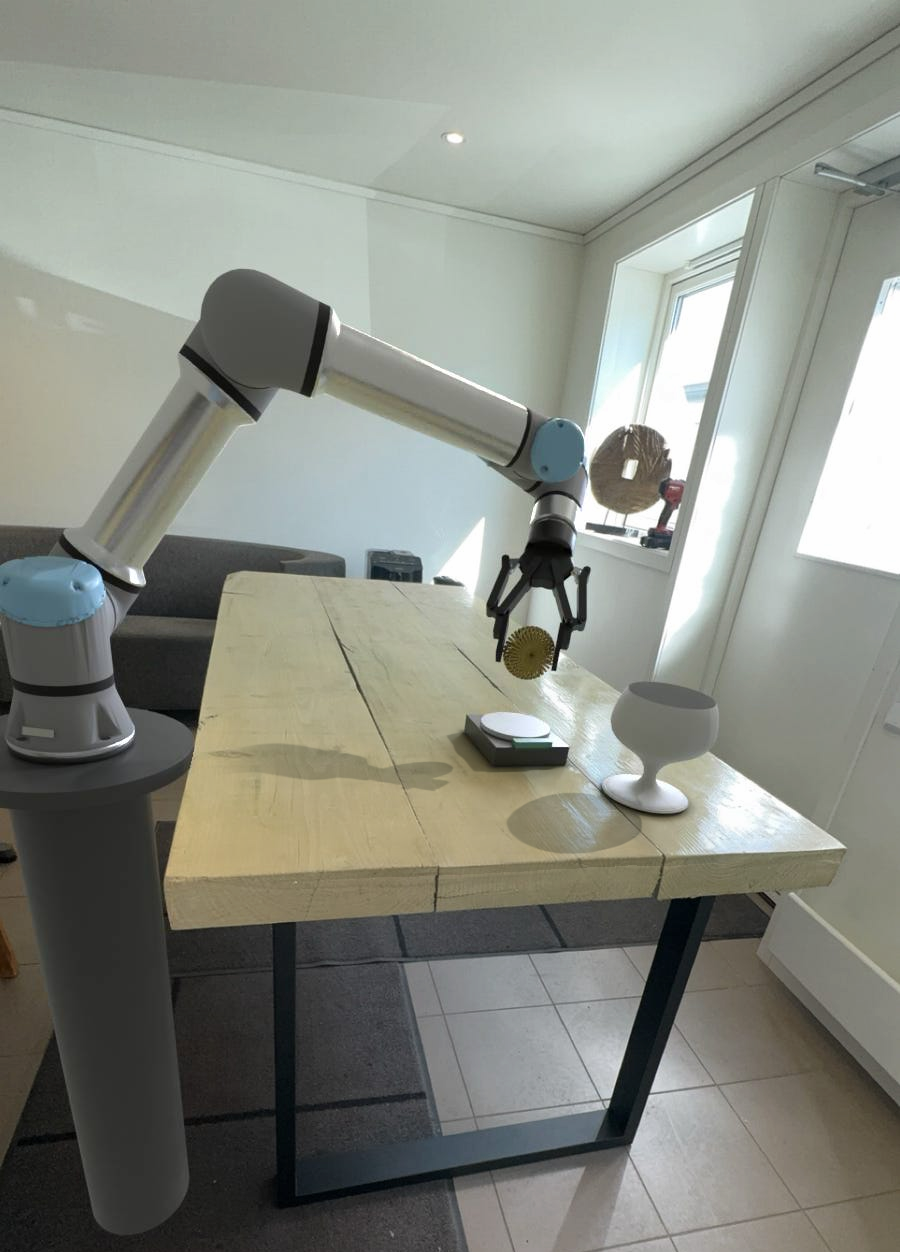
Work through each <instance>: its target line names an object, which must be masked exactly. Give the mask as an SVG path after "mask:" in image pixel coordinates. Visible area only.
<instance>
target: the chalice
mask: <svg viewBox="0 0 900 1252" xmlns="http://www.w3.org/2000/svg"><path fill="white" fill-rule="evenodd" d="M719 712H720V711H719V707H718V704H717V702H716V700H715V699H713V698H712V697H711V696H709V695H707V694H705V693H704V692H701V691H698V690H695V689H692V688H689V687H687V686H681V685H677V684H672V683H667V682H660V681H659V682H658V681H635V682H632V683H630V684H628V685H627V686H626V687H625V688H624V690H623V691H622V692H621V693H620V695H619V697H618V699H617V700H616V703H615V705H614V707H613V710H612V711H611V714H610V715H611V716H610V727H611V731H612V733H613V735H614V737H615V738H616V739H617V740H618V742H619V743H621V744H622V745H623V746H624V747H625V748H627V749H628V750H629V751H631V752H632V753H633V754H634V755H636V757H638V758H639V760H640V761H641V764H642V766H643V773H642V775H641V774H633V773H632V774H631V773H622V774H621V773H620V774H615V775H611V776H609V777H606V778H605V779H604V780H603V781H602V782H601V788H602V790H603V792H604V793H605V794H606V795H607V796H608V797H610V798H611V799H612V800H614V801H616V802H617V803H619V804H622V805H624V806H626V807H629V808H631V809H634V810H639V811H643V812H647V813H653V814H676V813H681V812H682V811H685V810H686V809H687V808H688V807H689V800H688V798H687V796H686V795H685V794H684V793H683V792H682V791H681V790H680V789H678V788H677V787H675V786H674V785H672V784H670V783H668V782H666V781H662V780H660V779H657V775H658V773H659V772H660V770H661V769H662V768H664V767H666V766H668V765H671V764H675V763H680V762H686V761H690V760H694V759H697V758H700V757H703V756H704V755H705V754H707V753H708V752H709V751H711V750H712V748H713V747H714V745H715V744H716V741H717V739H718V734H719V726H720V725H719V724H720V715H719Z"/></svg>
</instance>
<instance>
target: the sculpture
mask: <svg viewBox="0 0 900 1252" xmlns="http://www.w3.org/2000/svg"><path fill="white" fill-rule="evenodd" d="M510 636H511V637H507V640H505V644H504V649H503V654H502V661H503V663H504V666H505V668H506V670H507V671H508V673H509V674H511V676H513V677H515V678H517V679H520V680H524V681H528V680H529V681H530V680H535V679H538V678H540V677H541V676H543V675H545V673H547V672H548V670H551V667H552V662H553V657H554V652H555V646H556V644H555V641H554V638H553V637H552V636H551V634H550V633H549V632H548V631H547V630H545V629H544V628H542V627H539V626H536V625H526V626H523V627H521V628H520V627H519V628H518V629H517V630H514V631H513V633H511V634H510ZM547 669H548V670H547Z"/></svg>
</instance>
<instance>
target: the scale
mask: <svg viewBox="0 0 900 1252" xmlns="http://www.w3.org/2000/svg"><path fill="white" fill-rule="evenodd" d="M465 716H466V717H465V723H464V730H463V732H464V733H465V734H466V735H467V737H468V738H469V739H470V740H471V741H472V742H473V744H474V745H475V746H476V747H477V748H478V749H479V751H480V752H481V753H482V754H483V756H484V757H485V758H486V759H487V760H488V762H489V763H490V764H491V765H492V766H493V767H516V766H519V767H520V766H525V767H526V766H563V765H565V766H566V765H567V762H568V756H569V752H570V746H569V744H567V743H565V741H564V740H562V739H561V737H559V736H558V735H557V734H556V733H554V731H552V730H551V727H550V725H549V724H548V723H547V722H545V721H543V720H541V719H540V718H538V717H536V716H535V715H534V714H525V713H524V714H523V713H518V712H510V711H509V712H508V711H498V712H496V711H495V712H490V713H485V714H480V713H479V714H476V713H475V714H473V713H471V714H468V713H467V714H466V715H465Z"/></svg>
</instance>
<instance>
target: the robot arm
mask: <svg viewBox="0 0 900 1252" xmlns="http://www.w3.org/2000/svg"><path fill="white" fill-rule="evenodd" d="M176 357H177V362H178V366H179V378H178V379H177V380H176V382H175V384H174V385H173V387H172V389H171V390H170V391H169V392H168V395H167V396H166V397H165V399H164V401H163V402H162V404H161V405H160V407H159V409H158V410H157V412H156V413H155V415H154V416H153V418H152V419H151V421H150V423H149V424H148V426H147V427H146V429H145V430H144V432H143V433H142V435H141V436H140V438H139V439H138V441H137V443H136V444H135V445H134V447H133V448H132V450H131V452H130V453H129V455H128V456H127V458H126V460H125V461H124V462H123V464H122V466H120V468H119V469H118V472H117V473H116V475H115V476H114V478H113V479H112V481H111V482H110V484H109V485H108V487H107V489H106V490H105V491H104V493H103V494H102V496H101V498H100V499H99V501H98V502H97V504H96V506H95V507H94V509H93V510H92V511H91V513H90V515H89V517H88V518H87V520H86V521H85V522H84V524H83V525H82V526H78V527H69V528H68V527H67V528H65V529H64V530H63V532H62V533H61V535H60V536H59V537H58V540H57V541H56V542H55V543H54V545H53V547H52V549H51V550H50V552H49V554H47V555H37V556H36V555H35V556H26V557H23V558H15V559H10V560H8V561H6V562H4V563H2V564H0V628H1V632H2V633H1V634H2V638H3V639H2V640H3V643H4V649H5V653H6V659H7V664H8V669H9V675H10V679H11V685H12V700H11V703H10V709H9V713H8V714H9V718H8V723H7V728H6V734H5V738H6V743H7V748H8V751H9V753H10V754H11V755H12V756H14V757H15V758H17V759H20V760H22V761H26V762H30V763H35V764H41V765H57V766H64V765H80V764H88V763H94V762H99V761H103V760H107V759H110V758H113V757H116V756H118V755H121V754H123V753H125V752H126V751H128V750H129V749H131V748H132V747H133V745H134V744H135V741H136V738H135V728H134V725H133V723H132V721H131V719H130V717H129V715H128V713H127V711H126V709H125V707H126V706H125V705H124V703H123V701H122V699H121V696H120V695H119V692H118V690H117V687H116V682H115V675H114V674H115V673H114V665H113V658H112V656H113V655H112V649H111V636H113V633H114V632H115V630H116V629H117V628H118V627H119V626H120V625H121V623H122V622H123V621H124V619H125V617H126V615H127V612H129V609H130V608H131V607H132V605H133V604H134V602H135V601H136V600H137V598H138V597H139V595H140V593H141V592H142V590H143V589H144V588H145V586H146V584H147V581H146V578H145V573H144V568H143V567H144V566H145V564H147V562H148V560H149V559H150V557H151V556H152V554H153V553H154V551H155V550H156V549H157V547H158V545H159V544H160V543H161V541H162V539H163V538H164V537H165V535H166V533H167V532H168V531H169V529H170V528H171V527H172V525H173V524H174V522H175V521H176V519H177V517H178V516H179V514H180V513H181V512H182V510H184V509H183V508H184V507H185V506H186V505H187V503H188V501H189V500H190V498H191V497H192V495H193V494H194V492H195V491H196V490H197V488H198V487H199V485H200V484H201V482H202V481H203V479H205V476H206V475H207V473H208V472H209V471H210V469H211V468H212V467H213V464H215V461H216V460H217V459H218V457H219V456H220V454H221V453H222V451H223V450H224V449H225V447H226V446H227V444H228V443H229V441H230V440H231V438H232V437H233V435H234V434H235V432H236V431H237V429H238V428H240V427H242V426H254V425H256V424H257V422H258V421H259V420H260V419H261V416H262V415H263V414H264V412H265V411H266V410H267V408H268V406H269V405H270V404H271V402H272V401H273V400H274V398H275V396H276V395H277V394H278V392H279V390H280V389H281V390H286V391H290V392H292V393H293V392H294V393H296V394H299V395H301V396H304V397H306V398H309V399H310V400H311V399H312V400H313V399H315V398H316V397H318V396H320V395H326V396H329V397H331V398H333V399H335V400H337V401H340V402H343V403H346V404H348V405H351V406H353V407H355V408H358V409H361V410H364V411H365V412H368V413H371V414H373V415H376V416H377V417H381V418H383V419H385V420H387V421H390V422H393V423H395V424H398V425H400V426H402V427H406V428H408V429H411V430H413V431H416V432H418V433H420V434H423V435H425V436H427V437H430V438H433V439H435V440H437V441H440V442H442V443H445V444H447V445H450V446H453V447H455V448H458V449H460V450H462V451H465V452H467V453H470V454H472V455H475V456H476V457H477V458H479V459H480V460H481V461H482V462H484V463H485V464H486V466H487V467H488V468H492V469H493V470H494V471H496V472H497V473H498V474H500V475H502V476H503V477H504V478H505V479H507V480H508V481H510V482H512V483H513V484H515V485H516V486H517V487H519V488H520V489H522V490H523V491H524V492H525V493H526V494H528V495H529V496H531V497H532V498H534V504H533V507H532V508H533V509H532V513H531V517H530V522H529V526H528V527H529V528H528V531H527V536H526V540H525V545H524V548H523V549H524V550H523V553H521V555H519V557H518V558H517V557H515V558H514V557H513V558H511V557H510V555H509V554H503V555H502V556H501V563H500V565H501V567H500V569H499V572H498V575H497V576H496V580H495V581H494V584H493V587H492V588H491V592H490V594H489V596H488V598H487V601H486V604H485V616H486V617H487V618H493V619H494V624H493V628H492V638H493V640H498V641H497V643H496V649H495V663H501V662H502V659H503V649H505V648H504V645H506V641H507V635H508V631H509V625H510V615H511V614H512V612H513V611H514V610H515V608H516V607H517V606H518V604H520V602H521V600H522V599H523V597H524V596H526V594H527V593H529V591H531V589H532V588H535V589H540V588H542V589H545V590H550V591H552V596H553V597H554V599H555V604H556V607H557V611H558V614H559V618H560V622H559V626H558V631H557V638H556V642H555V652H554V657H553V662H551V663H552V666H551V667H550V670H551V672H557V669H558V665H559V664H558V663H559V659H560V654H561V650H563V651H568V650H569V648H570V644H571V638H572V633H573V632H574V631H575V632H576V631H578V632H583V631H584V630H585V628H586V625H587V620H588V583H589V581H590V577H591V571H592V569H591V567H590V566H588V565H585V566H583V567H582V568H581V567H578V566H575V563H574V561H573V558H574V553H575V548H576V543H577V537H578V532H579V531H578V530H579V527H580V521H581V516H582V515H581V514H582V510H583V505H584V500H585V495H586V490H587V488H588V484H589V472H590V461H589V457H588V455H587V453H586V450H587V449H586V447H587V446H586V445H587V444H586V439H585V436H584V433H583V431H582V429H581V428H580V427H579V425H577V423H575V422H574V421H573V420H570V419H566V418H563V417H561V416H558V417H556V416H555V417H550V416H547V415H545V414H543V413H541V412H538V411H536V410H533V409H532V408H529V407H526V406H524V405H523V404H521V403H519V402H517V401H514V400H512V399H510V398H509V397H506V396H503V395H502V394H498V393H496V392H494V391H493V390H491V389H488V388H486V387H484V386H481V385H479V384H477V383H475V382H473V381H470V380H468V379H466V378H464V377H462V376H460V375H457V374H455V373H453V372H450V371H449V370H446V369H444V368H442V367H439V366H437V365H435V364H433V363H431V362H429V361H427V360H424V359H422V358H420V357H419V356H416V355H413V354H411V353H408V352H407V351H404V350H403V349H400V348H398V347H396V346H394V345H392V344H389V343H387V342H385V341H382V340H381V339H378V338H376V337H374V336H371V335H369V334H367V333H365V332H363V331H361V330H358V329H357V328H354V327H352V326H350V325H348V324H345V323H343V322H341V321H340V319H339V318H338V316H337V314H336V312H335V310H334V307H332V306H331V305H329V304H326V303H324V302H322V301H319V300H317V299H315V298H313V297H311V296H310V295H308V294H306V293H304V292H302V291H300V290H298V289H296V288H295V287H292V286H291V285H288V284H287V283H284V281H281V280H279V279H277V278H275V277H273V276H271V275H269V274H268V273H265V272H262V271H259V270H257V269H251V268H235V269H231V270H228V271H226V272H224V273H222V274H220V275H219V276H217V277H216V279H214V280H213V281H212V282H211V283H210V284H209V286H208V288H207V290H206V292H205V294H204V297H203V299H202V302H201V307H200V317H199V320H198V321H197V323H196V324H195V326H194V327H193V329H192V331H191V332H190V334H189V336H188V337H187V339H186V340H185V341H184V343H183V345H182V346H181V348H180V349H179V352H178V353H177V354H176ZM516 569H519V570H520V572H521V576H520V578H519V580H518V581H517V582H516V584H514V586H513V588H512V589H511V591H510V592H509V593H508V595H507V596H506V597H505V598H504V599H503V601H502V602H501V600H502V597H503V594H504V592H505V589H506V587H507V585H508V583H509V579H510V576H512V575H513V573H515V571H516ZM571 576H573V581H574V583H575V585H577V586H576V617H575V616H573V612H572V608H571V605H570V602H569V597H568V594H567V591H566V586H565V581H566V580H568V579H569V578H570V577H571ZM500 602H501V604H500ZM499 604H500V605H499Z"/></svg>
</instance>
